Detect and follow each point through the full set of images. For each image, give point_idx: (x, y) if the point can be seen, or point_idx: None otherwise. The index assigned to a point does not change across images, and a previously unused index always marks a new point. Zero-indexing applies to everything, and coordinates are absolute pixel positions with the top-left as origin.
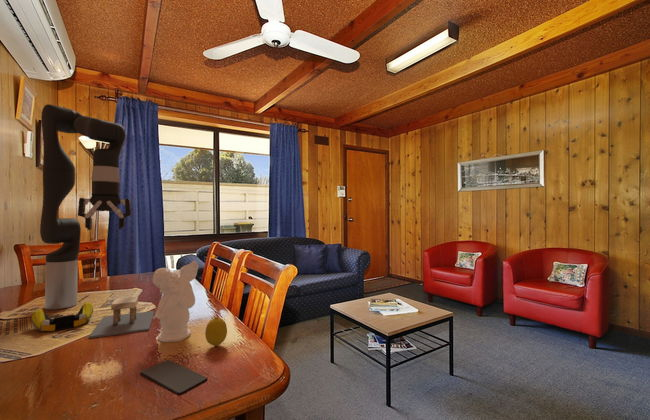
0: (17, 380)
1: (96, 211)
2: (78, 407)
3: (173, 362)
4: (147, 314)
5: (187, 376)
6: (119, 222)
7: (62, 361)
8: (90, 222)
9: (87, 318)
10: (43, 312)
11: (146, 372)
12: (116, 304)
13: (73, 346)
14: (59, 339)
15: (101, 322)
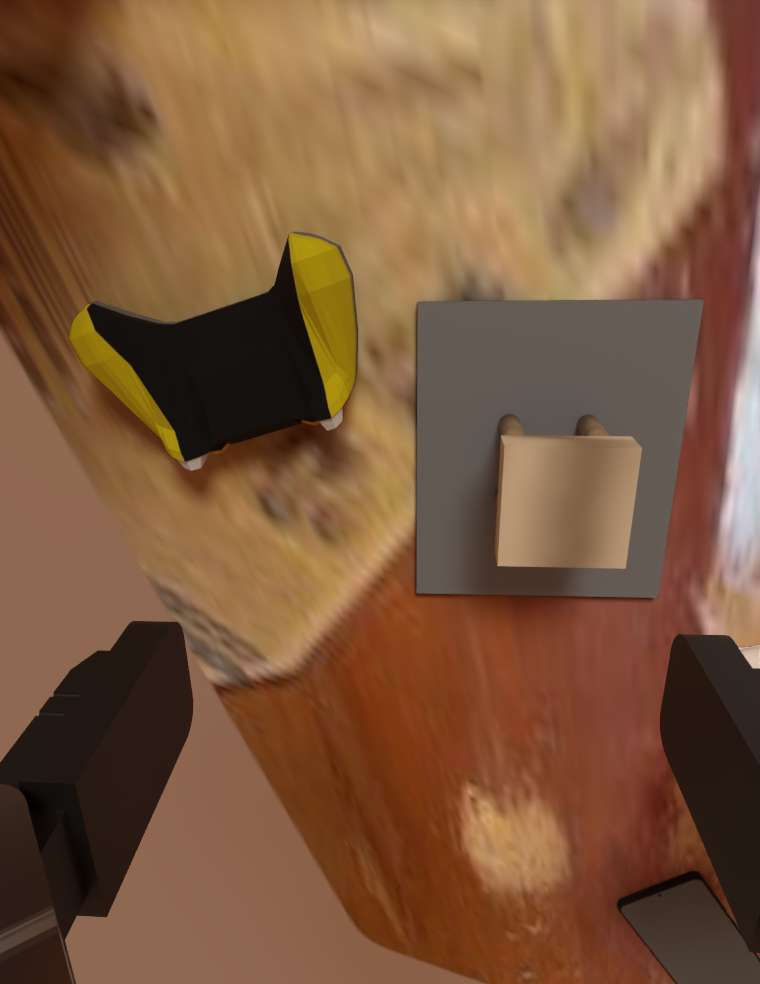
0: (313, 817)
1: (70, 974)
2: (496, 970)
3: (710, 897)
4: (659, 364)
5: (731, 967)
6: (721, 853)
7: (388, 752)
8: (140, 810)
9: (353, 384)
10: (120, 355)
11: (634, 917)
12: (523, 564)
13: (382, 646)
14: (302, 550)
15: (429, 418)
